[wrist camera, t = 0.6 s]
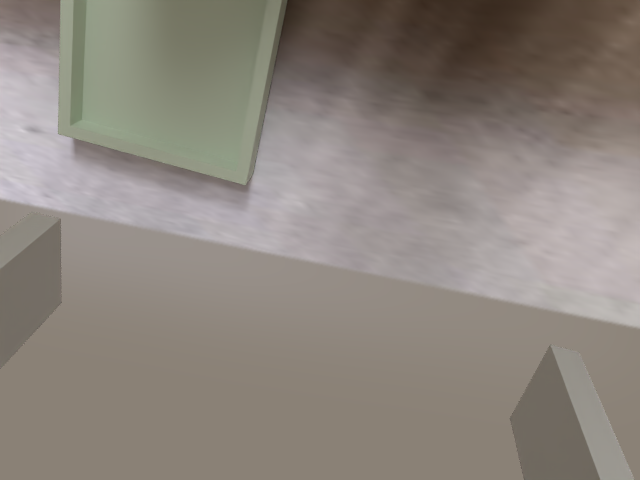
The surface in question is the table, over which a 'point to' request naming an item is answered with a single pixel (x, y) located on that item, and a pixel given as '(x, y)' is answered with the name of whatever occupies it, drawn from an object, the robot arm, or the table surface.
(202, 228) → the table surface
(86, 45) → the tray
